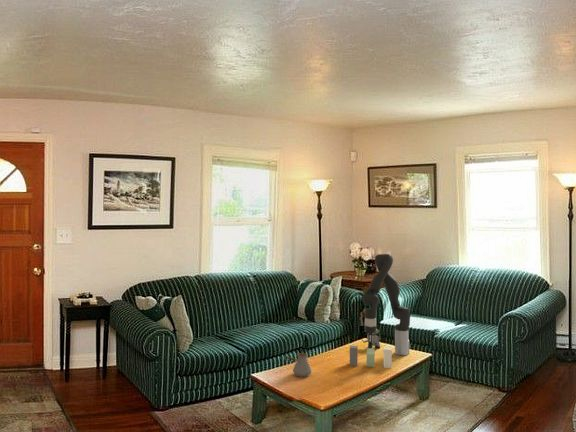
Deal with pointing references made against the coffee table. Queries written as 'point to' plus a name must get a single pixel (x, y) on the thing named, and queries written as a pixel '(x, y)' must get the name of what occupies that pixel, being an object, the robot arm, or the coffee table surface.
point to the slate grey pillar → (353, 355)
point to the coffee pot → (301, 365)
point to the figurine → (375, 340)
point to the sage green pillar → (370, 357)
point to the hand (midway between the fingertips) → (370, 350)
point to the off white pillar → (387, 357)
